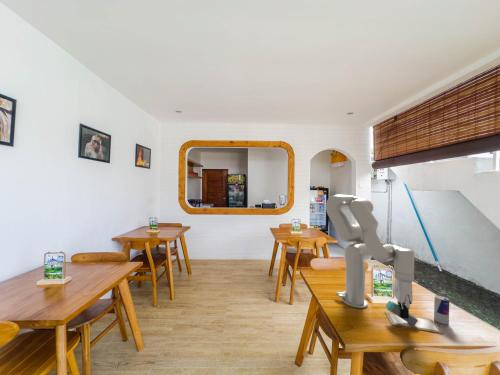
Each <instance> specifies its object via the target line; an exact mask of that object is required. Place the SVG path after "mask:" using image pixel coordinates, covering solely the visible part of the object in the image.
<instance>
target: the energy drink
mask: <svg viewBox="0 0 500 375" xmlns="http://www.w3.org/2000/svg"><path fill="white" fill-rule="evenodd" d="M433 303H434V304H433V307H434V308H433V321H434V322H435V324H436V325H437V326H440V327H445V328H446V327H449V325H450V299H449V298H448V297H446V296H443V295H438V294H437V295H435V296H434V302H433Z"/></svg>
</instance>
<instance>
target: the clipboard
mask: <svg viewBox="0 0 500 375" xmlns="http://www.w3.org/2000/svg"><path fill="white" fill-rule="evenodd" d="M384 314H385V316H386V318H387V319H388V321H389V324H390V325H391V326H394V327H395V326H396V327H399V328H406V329H412V330H419V331H421V332H422V331H424V332H429V333H435V334H441V335H445V332H444V331H443V330H442V329H441V328H440V327H439V325H438V324H436V323H435V322H434V319H431V318H423V317H419V316H417V317H416V316H415V315H414V314H412V315H413V316H415V317H416V319H417V320H418V321H417V323H416V324H415V326H413V325H411V324H410V323H408V322H406V321H405V320H403V319H402V318H400V317H399V316H397V315H395V314H394V313H392V312H386V311H385V312H384Z"/></svg>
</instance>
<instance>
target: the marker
mask: <svg viewBox="0 0 500 375" xmlns="http://www.w3.org/2000/svg"><path fill="white" fill-rule="evenodd" d="M397 304H398V303H395V302H394V301H391V300H389V301H388V302H387V303H386V304H385V308H386V310H387V311H389V313H393V314H395V315H397V316H399V317H400V306H399V305H397ZM413 315H414V314H411V313H410V312H409V318H408V319H406V318H402V319H403V320H405V321H406V322H408V323H410V324H411V325H413V326H415V324H416V323H417V321H418V320H417V319H416V316H415V315H414V316H413ZM400 318H401V317H400Z"/></svg>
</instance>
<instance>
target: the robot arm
mask: <svg viewBox="0 0 500 375" xmlns="http://www.w3.org/2000/svg"><path fill="white" fill-rule="evenodd" d="M342 210H349V211H350V213H351V214H352V216H353V217H354V219H355V220H356V223H357V224H351V223H350V221H349V219H348V217H347V215H346V214H345V213H344V212H343V211H342ZM325 211H326V214H327V216H328V217H329V219H330V221H331V223H332V224H333V227H334V229H335V231H336V233H337V235H338V237H339V239H340V241H341V242H343V243H347V244H348V243H351V244H349V245H348V246H347V247H346V248H345V250H344V257H345V290H344V291H342V292H340V291H335V295H336V296H337V297H338V298H341V301H342V302H343V304H345V305H347V306H349V307H352V308H355V309H365V308H367V307H368V304H369V303H368V301H367V300H366V299H365V295H366V294H365V293H366V291H365V290H366V268H365V266H366V265H365V263H364V261H368V260H370V259H372V258H373V259H374V260H375V261H377V262H379V263H385V262H389V261H394V266H393V267H394V269H393V270H394V271H393V273H394V274H393V277H394V282H393V295H394V298H395V299H396V300H397V303H396V304H397V305H399V306H400V317H401V318H406V319H408V318H409V313H410V308H411V305H412V304H413V283H412V282H414V280H415V252H414V250H413V249H411V248H407V247H401V246H397V245H395V244H392V243H386V244H382V242H381V241H380V239H379V237H378V233H377V230H378V226H379V222H378V221H377V219H376V218H375V216H374V214H373V213H372V212H373V211H374V205H373V202H371V201H370V200H368V199H366V198H361V197H358V196H354V195H351V194H350V195H349V194H333V195H331V196H330V197H329V198H328V199H327V200H326V203H325Z"/></svg>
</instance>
